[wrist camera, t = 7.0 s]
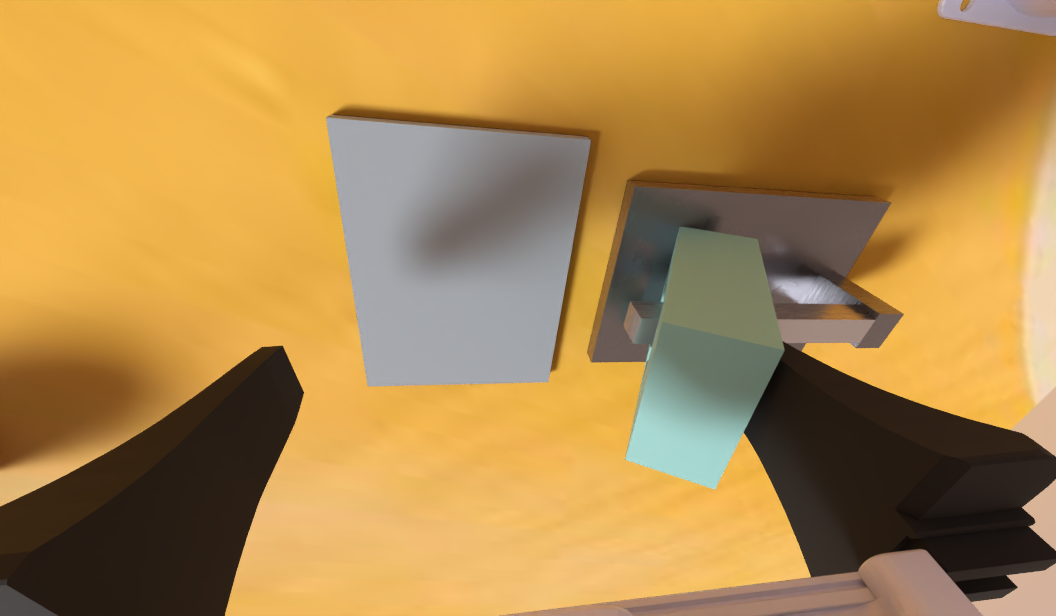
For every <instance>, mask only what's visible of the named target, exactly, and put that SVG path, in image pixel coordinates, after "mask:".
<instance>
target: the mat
mask: <svg viewBox="0 0 1056 616" xmlns="http://www.w3.org/2000/svg"><path fill="white" fill-rule="evenodd" d="M326 121H327V127H328V134H329V140H330V146H331V153H332V159H333V166H334V172H335V179H336V185H337V191H338V198H339V204H340V211H341V217H342V224H343V230H344V236H345V243H346V249H347V256H348V262H349V269H350V275H351V282H352V288H353V294H354V301H355V307H356V314H357V320H358V327H359V333H360V339H361V346H362V352H363V359H364V365H365V372H366V378H367V384H368V386H403V385H446V384H489V383H532V382H548V381H549V376H550V370H551V364H552V359H553V353H554V347H555V342H556V336H557V330H558V325H559V319H560V314H561V308H562V302H563V297H564V291H565V285H566V280H567V274H568V268H569V263H570V257H571V252H572V246H573V240H574V235H575V229H576V223H577V218H578V212H579V206H580V201H581V195H582V190H583V184H584V178H585V173H586V167H587V161H588V156H589V150H590V144H591V139H589V138H588V137H586V136H574V135H562V134H551V133H539V132H527V131H516V130H504V129H492V128H481V127H469V126H457V125H446V124H434V123H423V122H411V121H399V120H388V119H376V118H364V117H353V116H341V115H329V116H328V117H326Z"/></svg>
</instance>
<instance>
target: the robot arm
mask: <svg viewBox="0 0 1056 616" xmlns="http://www.w3.org/2000/svg"><path fill="white" fill-rule="evenodd" d="M962 1H963V0H940V1H939V4H938V8H937V13H938V15H939V16H940V17H941V18H945V19H951V20H957V21H963V22H969V23H975V24H981V25H988V26H994V27H1000V28H1006V29H1012V30H1018V31H1024V32H1030V33H1036V34H1042V35H1048V36H1054V37H1056V0H970V2H969V4H968V6H967V7H966V8H965V9H964V10H963V11H961V10H960V5H961V2H962ZM783 346H784V352H783V354H782V356H781V358H780V360H779V362H778V364H777V366H776V368H775V370H774V372H773V374H772V376H771V378H770V380H769V382H768V384H767V386H766V388H765V390H764V392H763V394H762V396H761V398H760V400H759V402H758V404H757V406H756V408H755V410H754V412H753V414H752V416H751V418H750V420H749V422H748V424H747V426H746V428H745V430H744V433H745V435H746V437H747V438H748V440H749V441H750V443H751V444H752V446H753V448H754V450H755V451H756V453H757V455H758V456H759V458H760V460H761V462H762V464H763V466H764V468H765V470H766V472H767V474H768V476H769V478H770V480H771V482H772V484H773V486H774V489H775V491H776V493H777V495H778V497H779V499H780V501H781V504H782V506H783V508H784V510H785V512H786V515H787V517H788V519H789V522H790V524H791V527H792V529H793V531H794V534H795V536H796V538H797V541H798V543H799V546H800V548H801V551H802V554H803V556H804V559H805V562H806V564H807V567H808V570H809V572H810V575H811V577H810V578H802V579H794V580H786V581H778V582H770V583H761V584H753V585H745V586H737V587H729V588H721V589H713V590H704V591H696V592H688V593H680V594H672V595H664V596H656V597H647V598H639V599H631V600H623V601H615V602H607V603H598V604H590V605H582V606H574V607H566V608H558V609H550V610H541V611H533V612H525V613H517V614H509V615H501V616H983V615H982V614H981V613H980V612H979V611H978V610H977V608H976V607H975V606H974V605H973V604H972V603H971V602H974V601H981V600H989V599H996V598H1002V597H1004V596H1005V595H1007V594H1009V593H1010V592H1012V591H1013V590H1015V589H1016V588H1017V586H1016V585H1015V584H1014V583H1013V582H1012V581H1011V580H1010V579H1009V578H1008V577H1007V576H1006V575H1011V574H1019V573H1027V572H1034V571H1042V570H1046V569H1047V568H1049V567H1050V566H1052V565H1053V564H1055V563H1056V551H1055V550H1054V549H1053V548H1052V547H1051V546H1050V545H1049V544H1047V543H1046V542H1045V541H1044V540H1043V539H1042V538H1041V537H1040V536H1039V535H1037V534H1036V533H1035V532H1034V531H1033V530H1032V529H1031V528H1030V527H1028V526H1031V525H1033V524H1034V523H1035V520H1034V518H1033V517H1032V516H1031V515H1029V514H1028V513H1027V512H1026V511H1025V510H1024V509H1023V508H1022V507H1023V506H1024V505H1025V504H1027V503H1028V502H1029V501H1030V500H1032V499H1033V498H1034V497H1035V496H1037V495H1038V494H1039V493H1040V492H1042V491H1043V490H1044V489H1045V488H1046V487H1048V486H1049V485H1050V484H1051V483H1052V482H1053V481H1054V480H1055V479H1056V457H1055V456H1054V455H1052V454H1051V453H1050V452H1049V451H1047V450H1046V449H1044V448H1043V447H1042V446H1040V445H1039V444H1038V443H1036V442H1035V441H1034V440H1032V439H1031V438H1029V437H1028V436H1026V435H1024V434H1022V433H1019V432H1015V431H1011V430H1008V429H1004V428H1000V427H996V426H993V425H989V424H985V423H981V422H977V421H974V420H970V419H966V418H963V417H960V416H957V415H953V414H950V413H947V412H944V411H941V410H937V409H934V408H931V407H928V406H925V405H922V404H919V403H916V402H913V401H911V400H908V399H905V398H903V397H900V396H897V395H895V394H892V393H889V392H887V391H884V390H882V389H879V388H877V387H874V386H872V385H869V384H867V383H865V382H863V381H860V380H858V379H856V378H854V377H851V376H849V375H847V374H845V373H842V372H840V371H838V370H836V369H834V368H832V367H830V366H828V365H826V364H824V363H822V362H820V361H818V360H816V359H814V358H813V357H811V356H809V355H807V354H805V353H803V352H801V351H800V350H798V349H796V348H794V347H792V346H791V345H789V344H787V343H785V342H784V341H783ZM303 394H304V392H303V389H302V387H301V385H300V383H299V381H298V379H297V376H296V374H295V372H294V370H293V368H292V365H291V363H290V361H289V359H288V357H287V354H286V352H285V350H284V348H283V346H272V347H262V348H260V349H259V350H257V351H256V352H254V353H253V354H251V355H250V356H248V357H247V358H246V359H244V360H243V361H242V362H240V363H239V364H238V365H236V366H235V367H234V368H232V369H231V370H230V371H228V372H227V373H226V374H224V375H223V376H222V377H220V378H219V379H218V380H216V381H215V382H214V383H212V384H211V385H210V386H208V387H207V388H206V389H204V390H203V391H202V392H200V393H199V394H197V395H196V396H195V397H193V398H192V399H190V400H189V401H187V402H186V403H185V404H183V405H182V406H180V407H179V408H177V409H176V410H175V411H173V412H172V413H170V414H169V415H167V416H166V417H165V418H163V419H162V420H160V421H159V422H157V423H155V424H154V425H152V426H151V427H149V428H148V429H146V430H145V431H143V432H141V433H140V434H138V435H136V436H135V437H133V438H131V439H130V440H128V441H126V442H125V443H123V444H122V445H120V446H118V447H116V448H115V449H113V450H111V451H109V452H108V453H106V454H104V455H102V456H100V457H98V458H97V459H95V460H93V461H91V462H89V463H87V464H85V465H84V466H82V467H80V468H78V469H76V470H74V471H73V472H71V473H69V474H67V475H65V476H63V477H61V478H59V479H57V480H55V481H53V482H51V483H49V484H47V485H45V486H43V487H41V488H39V489H37V490H35V491H33V492H31V493H29V494H26V495H24V496H22V497H20V498H18V499H16V500H14V501H12V502H9V503H7V504H5V505H3V506H1V507H0V616H225V612H226V608H227V604H228V601H229V597H230V593H231V589H232V586H233V582H234V578H235V575H236V571H237V568H238V564H239V561H240V558H241V555H242V551H243V548H244V545H245V542H246V538H247V535H248V532H249V529H250V526H251V523H252V521H253V518H254V515H255V512H256V509H257V506H258V503H259V501H260V498H261V496H262V494H263V491H264V489H265V487H266V484H267V482H268V480H269V478H270V476H271V474H272V472H273V469H274V467H275V465H276V463H277V461H278V459H279V457H280V455H281V452H282V450H283V448H284V446H285V444H286V442H287V439H288V437H289V435H290V433H291V431H292V428H293V426H294V424H295V421H296V418H297V415H298V412H299V409H300V405H301V401H302V398H303Z"/></svg>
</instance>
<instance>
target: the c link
mask: <svg viewBox="0 0 1056 616" xmlns="http://www.w3.org/2000/svg"><path fill="white" fill-rule="evenodd" d="M660 302H664V303H663V307H662V311H661V314H660V318H659V322H658V326H657V329H656V333H655V337H654V341H653V344H649V349H648V354H647V358H646V363H645V371H644V374H643V378H642V382H641V387H640V392H639V396H638V401H637V406H636V411H635V415H634V420H633V425H632V430H631V434H630V439H629V444H628V449H627V453H626V458H625V460H628V461H631V462H634V463H637V464H640V465H643V466H646V467H649V468H652V469H655V470H658V471H661V472H664V473H667V474H670V475H673V476H676V477H679V478H682V479H685V480H688V481H691V482H694V483H697V484H700V485H703V486H706V487H709V488H712V489H715V488H716V486H717V484H718V482H719V480H720V478H721V476H722V474H723V472H724V470H725V468H726V466H727V464H728V462H729V460H730V458H731V456H732V454H733V452H734V450H735V448H736V446H737V444H738V442H739V440H740V438H741V436H742V434H743V432H744V430H745V428H746V426H747V424H748V422H749V420H750V418H751V416H752V414H753V412H754V410H755V408H756V406H757V404H758V402H759V400H760V398H761V396H762V394H763V392H764V390H765V388H766V386H767V384H768V382H769V380H770V378H771V376H772V374H773V372H774V370H775V368H776V366H777V364H778V362H779V360H780V358H781V356H782V354H783V352H784V346H783V341H782V337H781V333H780V329H779V325H778V321H777V317H776V313H775V309H774V304H773V300H772V296H771V292H770V288H769V284H768V280H767V276H766V272H765V267H764V263H763V259H762V255H761V251H760V247H759V243H758V239H755V238H749V237H743V236H737V235H731V234H725V233H718V232H712V231H706V230H700V229H694V228H688V227H679V231H678V235H677V239H676V243H675V247H674V251H673V254H672V258H671V262H670V266H669V270H668V274H667V278H666V281H665V285H664V289H663V293H662V297H661V301H660Z"/></svg>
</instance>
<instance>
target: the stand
mask: <svg viewBox="0 0 1056 616" xmlns="http://www.w3.org/2000/svg"><path fill="white" fill-rule="evenodd" d="M890 204H891V203H890V202H888V201H885V200H882V199H880V198H877V197H869V196H854V195H840V194H825V193H810V192H795V191H780V190H766V189H751V188H736V187H721V186H707V185H692V184H677V183H662V182H647V181H633V180H628V181H627V185H626V190H625V194H624V198H623V202H622V206H621V211H620V215H619V219H618V223H617V228H616V232H615V236H614V240H613V245H612V249H611V253H610V257H609V262H608V266H607V270H606V274H605V279H604V283H603V287H602V291H601V296H600V300H599V304H598V308H597V313H596V317H595V321H594V325H593V329H592V334H591V338H590V342H589V346H588V351H587V353H588V356H589V358H590V361H591V362H646V358H647V354H648V349H649V344H653V341H654V337H655V333H656V329H657V326H658V322H659V318H660V314H661V311H662V307H663V303H664V302H660V301H661V297H662V293H663V289H664V285H665V281H666V278H667V274H668V270H669V266H670V262H671V258H672V254H673V251H674V247H675V243H676V239H677V235H678V231H679V227H688V228H694V229H700V230H706V231H712V232H718V233H725V234H731V235H737V236H743V237H749V238H755V239H758V243H759V247H760V251H761V255H762V259H763V263H764V267H765V272H766V276H767V280H768V284H769V288H770V292H771V296H772V300H773V304H774V309H775V313H776V317H777V321H778V325H779V329H780V333H781V337H782V341H784V342H785V343H787V344H789V345H791V346H792V347H794V348H796V349H798V350H800V351H802V349H803V347H804V346H805V344H806V343H850V344H852V345H853V346H854V347H855V348H879V347H880V346H881V344H882V343H883V342H884V340H885V339H886V338H887V336H888V335H889V334H890V332H891V331H892V329H893V328H894V327H895V325H896V324H897V323H898V321H899V320H900V319H901V317H902V316H903V315H904V314H903V313H901V312H900V311H898V310H896V309H895V308H893V307H892V306H890V305H888V304H887V303H885V302H884V301H882V300H880V299H879V298H877V297H876V296H874V295H872V294H871V293H869V292H868V291H866V290H864V289H863V288H861V287H860V286H858V285H856V284H855V283H853V282H852V281H850V280H848V279H847V278H846V277H847V275H848V273H849V272H850V270H851V268H852V267H853V265H854V263H855V262H856V260H857V258H858V257H859V255H860V253H861V252H862V250H863V249H864V247H865V245H866V244H867V242H868V240H869V239H870V237H871V235H872V234H873V232H874V230H875V229H876V227H877V225H878V224H879V222H880V221H881V219H882V217H883V216H884V214H885V212H886V211H887V209H888V207H889V206H890Z"/></svg>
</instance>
